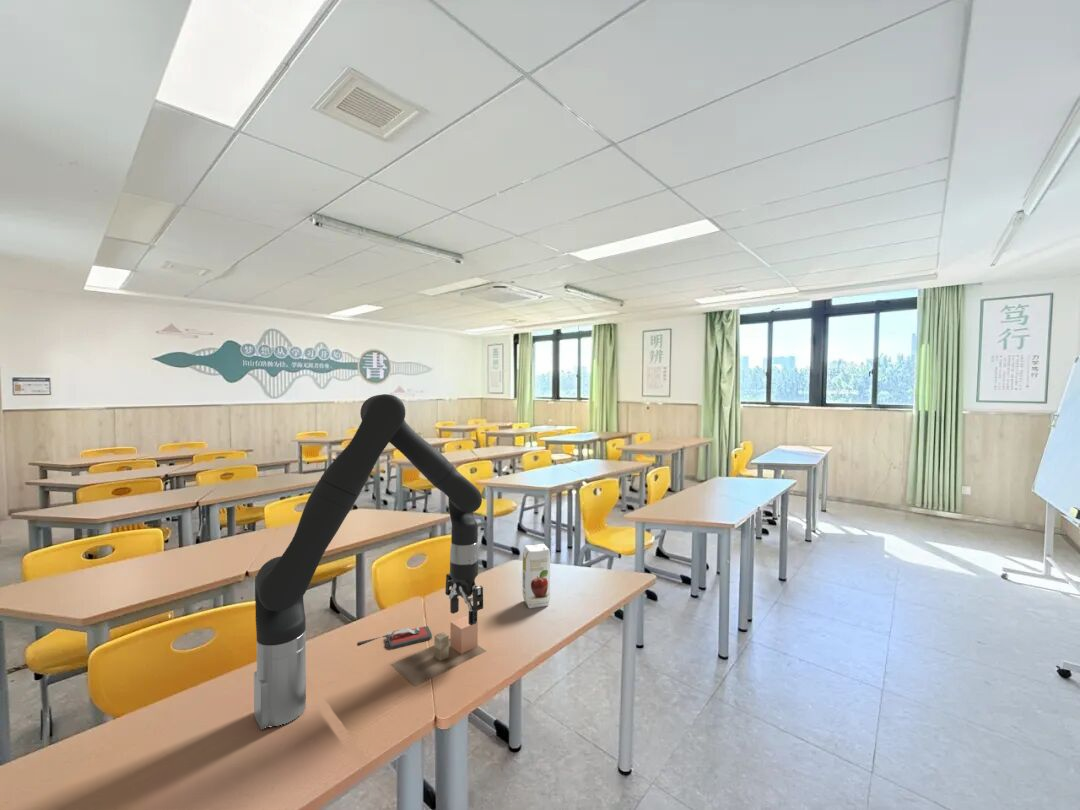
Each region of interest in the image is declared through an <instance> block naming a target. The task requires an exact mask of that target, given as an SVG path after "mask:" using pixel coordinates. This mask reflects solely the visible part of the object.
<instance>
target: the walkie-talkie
mask: <svg viewBox="0 0 1080 810" xmlns="http://www.w3.org/2000/svg"><path fill="white" fill-rule="evenodd" d="M432 635H433V634H432V631H431V629H430V627H429V625H425V626H420V627H419V626H416V627H415V628H408V627H406V628H401V629H396V630H393V631H388V632H386V634H384V635H382V636H380V637H375V638H370V639H367V640H362V641H358V642H357V643H356V646H358V647H360V646H362V645H365V644H367V643H370V642H373V641H375V640H378V639H380V638H384V641H385V642H386V643H385V648H386V649H390V650H395V649H398V648H403V647H405V646H411V645H414V644H417V643H418V644H419V643H422V642H426V641H430V640H432V639H433V637H432Z"/></svg>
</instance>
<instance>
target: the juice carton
mask: <svg viewBox="0 0 1080 810" xmlns="http://www.w3.org/2000/svg"><path fill="white" fill-rule="evenodd" d="M521 590H522V591H521V592H522V596H523V597H522V598H523V601H524V603H525V604H526V606H527V607H528V609H536V608H541V607H542V608H543V607H549V605H550V600H551V553H550V548H549V547H548V546H546V544H544V543H539V544H538V543H537V544H532V545H531V544H529V545H526V544H525V545H524V547H523V552H522V589H521Z"/></svg>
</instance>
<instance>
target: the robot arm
mask: <svg viewBox="0 0 1080 810" xmlns="http://www.w3.org/2000/svg"><path fill="white" fill-rule="evenodd" d="M359 413H360V419H361V422H360V424H359V426H358V428H357V429H356V432H355V433H354V436H353V437H352V439H351V440H350V442H349V443H348V444H347V446H346V447H345V448H344V449H343V450H342V451H341V453H340V454H338V456H337V457H336V458H335V459H334V460H333V461H332V462H331V463H330V464H329V466H328V467H327V468H326V470H324V472H323V474H322V475H321V476H320V479H319V480H318V482H317V483H316V485H315V486H314V487H313V490H312V491H311V493H310V494H309V497H308V499H307V501H306V503H305V506H304V508H303V511H302V514H301V516H300V519H299V522H298V524H297V527H296V530H295V532H294V535H293V537H292V539H291V541H290V543H289V544H288V546H287V547H286V549H285V550H284V552H283V553H282V555H280V556H276V557H273V558H271V559H269V560H268V561H266V562H265V563H264V564H263V565H262V566H261V567H260V569H259V570H258V572H257V574H256V576H255V581H254V582H255V584H254V586H255V587H254V588H255V591H254V593H255V594H254V595H255V596H254V597H255V600H254V604H255V629H256V630H255V631H256V632H255V633H256V671H254V673H253V716H254V718H255V721H256V722H257V725H258V727H259V729H260V731H263V730H265V729H264V728H265V727H269V726H277V727H279V726H278V725H281V726H283V725H282V724H284V725H287V724H288V722H289V723H291V722H293V721H295V720H296V719H297V718H299V717H300V716H301V715H302V714H303V713H304V711H305V710H306V707H305V706H306V705H307V704H306V702H307V701H306V700H307V695H306V694H307V693H306V692H307V691H306V688H307V687H306V685H307V682H306V681H307V678H306V677H307V676H306V675H307V670H306V669H307V668H306V667H307V666H306V665H307V662H306V661H307V660H306V658H307V653H306V651H307V649H306V648H307V645H306V643H307V639H306V638H307V637H306V636H307V632H306V630H307V629H306V624H307V623H306V619H307V618H306V611H305V606H304V605H305V604H304V595H305V594H306V591H307V590H308V588H309V586H310V583H311V581H312V580H313V577H314V575H315V573H316V570H317V569H318V566H319V564H320V562H321V560H322V557H323V556H324V554H325V552H326V550H327V548H328V547H329V545H330V544H331V542H332V541H333V539H334V537H335V536H336V534H337V532H338V531H339V529H340V528H341V526H342V524H343V522H344V521H345V519H346V517H347V516H348V514H349V513H350V511H351V510H352V508H353V506H354V505H355V503H356V501H357V499H358V498H359V496H360V494H361V492H362V490H363V488H364V486H365V485H366V483H367V481H368V479H369V478H370V475H371V474H372V472H373V470H374V467H375V466H376V464H377V461H378V460H379V458H380V456H381V455H382V453H383V451H384V449H386V447H387V445H388V444H389V443H390V444H391V445H392V446H393V447H395V449H396V450H398V451H399V452H400V453H401V454H402V455H403V456H404V457H405V458H406V459H407V460H408V461H409V462H410V463H411V465H413V466H414V467H415V468H416V469H417V470H418V471H419V472H420V473H421V474H422V475H423V477H425V478H426V479H427V480H428V481H429V482H430V483H431V485H432V486H434V487H435V488H436V489H438V490H439V491H441V492H442V493H444V495H445V496H447V497H448V509H449V518H450V522H451V537H450V538H451V541H450V542H451V543H450V544H451V545H450V551H449V553H450V554H449V555H450V556H449V573H447V574H446V576H445V595H446V596H448V599H449V600H450V603H449V604H450V614H457V613H458V612H459V609H460V608H459V606H460V605H459V601H460V600H459V599H460V598H459V597H461V598H462V599H463V602H464V603H465V604H466V605H467V608H468V617H469V625H473V624H476V623H477V622H478V611H479V610H480V611H481V610H482V609H484V587H483V585H476V578H477V577H478V575H479V545H478V544H479V541H478V540H479V537H478V535H479V533H478V532H479V529H478V527H479V525H478V522H477V520H476V519H475V517H474V513H475V512H476V511H477V510H479V509H480V508H481V505H482V502H483V496H482V493H481V491H480V490H479V489H478V487H477V486H476V485H474V483H472V482H471V481H470V480H469V479H467V478H466V477H465V476H464V475H462V474H461V473H460V472H459V471H458V469H456V467H455V466H454V465H453V464H452V463H451V462H450V461H449V459H447V457H445V456H444V455H443V453H441V452H440V451H439V450H438V449H437V448H435V446H433V445H432V444H431V443H429V442H428V441H426V440H425V439H424V438H423V437H422V436H421V435H419V434H418V433H417V432H416V431H415V430H414V429H413V428H412V427H411V426H410V425H409V424H408V423H407V422H406V420H405V417H406V406H405V405H404V402H403V401H402V399H401V398H399V397H398V396H397V395H394V394H388V393H387V394H377V395H373V396H370V397H369V398H366V400H365V401H364V402H363V403H362V404H361V407H360V412H359ZM471 596H472V597H471ZM469 597H470V598H469ZM304 709H305V710H304ZM302 712H303V713H302ZM301 713H302V714H301ZM298 716H299V717H298ZM294 719H295V720H294ZM292 720H293V721H292ZM290 721H291V722H290ZM286 723H287V724H286ZM262 729H263V730H262Z"/></svg>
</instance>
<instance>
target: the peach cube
mask: <svg viewBox="0 0 1080 810" xmlns="http://www.w3.org/2000/svg"><path fill="white" fill-rule="evenodd" d="M478 625H479V623H478V621H477V623H476V624H473V625H469V615H464V616H462V617H459V618H457V619H454V620H452V621H450V637H449V639H450V646H451V647H452V648H454V649H455V650H456V651H458V652H459V653H461V654H463V653H465V652H467V651H469V650H471V649H473V648H475V647H477V646H479V644H478V643H479V640H478V635H479V633H478V631H479V630H478V629H479V628H478Z"/></svg>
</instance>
